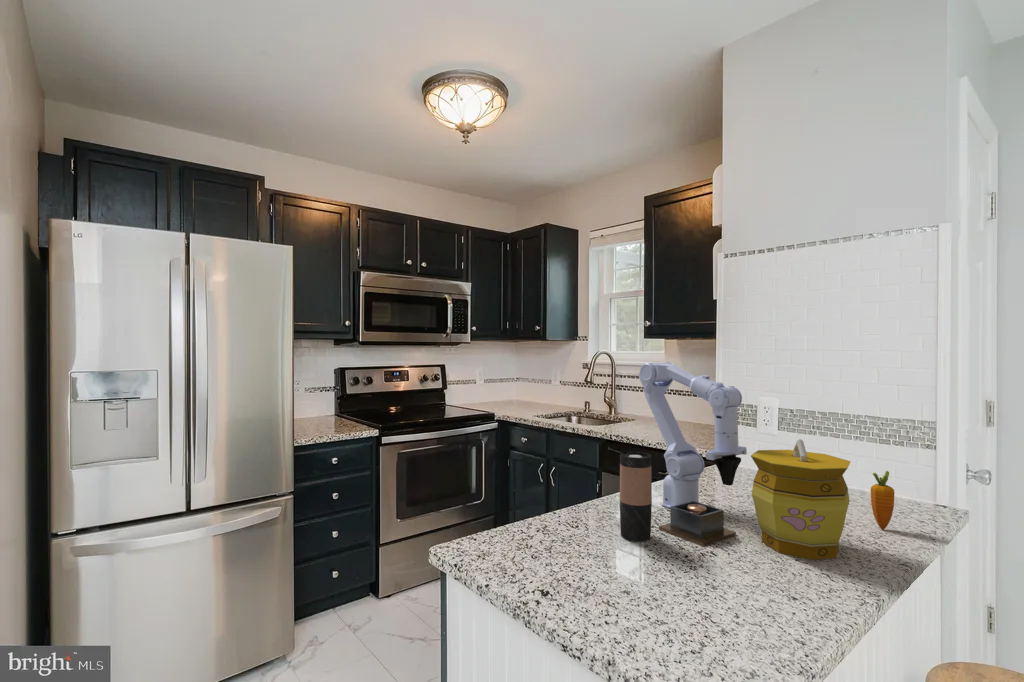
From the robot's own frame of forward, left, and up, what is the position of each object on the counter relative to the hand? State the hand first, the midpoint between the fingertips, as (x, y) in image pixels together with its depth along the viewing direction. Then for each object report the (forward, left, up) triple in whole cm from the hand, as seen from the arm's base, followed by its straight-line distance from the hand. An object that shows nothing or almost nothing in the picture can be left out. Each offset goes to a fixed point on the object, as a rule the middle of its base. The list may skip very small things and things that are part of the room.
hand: (727, 484), depth 131 cm
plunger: (-1, -12, -9) cm, 15 cm away
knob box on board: (-1, -12, -10) cm, 16 cm away
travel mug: (-7, -27, -11) cm, 30 cm away
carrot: (+24, +30, -11) cm, 40 cm away
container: (+18, +1, -11) cm, 21 cm away
